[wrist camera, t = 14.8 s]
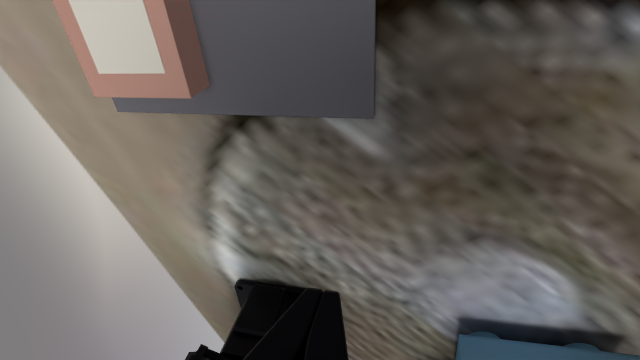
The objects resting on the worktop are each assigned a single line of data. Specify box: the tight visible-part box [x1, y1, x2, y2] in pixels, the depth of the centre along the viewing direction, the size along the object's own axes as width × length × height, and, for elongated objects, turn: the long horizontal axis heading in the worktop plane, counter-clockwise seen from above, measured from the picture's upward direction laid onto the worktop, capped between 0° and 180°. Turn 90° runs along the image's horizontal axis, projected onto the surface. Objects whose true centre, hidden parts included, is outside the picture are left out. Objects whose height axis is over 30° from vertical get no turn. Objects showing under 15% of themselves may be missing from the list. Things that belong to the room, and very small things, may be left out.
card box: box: [52, 0, 210, 98], centre depth 17 cm, size 9×2×6 cm
